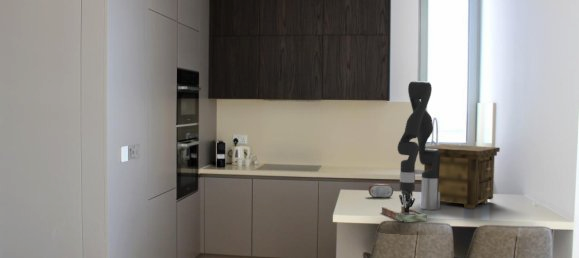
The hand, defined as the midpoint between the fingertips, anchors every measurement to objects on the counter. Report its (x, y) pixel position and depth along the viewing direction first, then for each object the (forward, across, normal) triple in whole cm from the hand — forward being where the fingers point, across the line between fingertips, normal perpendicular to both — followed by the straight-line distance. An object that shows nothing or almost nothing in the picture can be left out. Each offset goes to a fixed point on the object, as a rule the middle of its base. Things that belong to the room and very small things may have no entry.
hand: (406, 214), depth 290 cm
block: (+2, -4, 0) cm, 5 cm away
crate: (+2, +33, -52) cm, 62 cm away
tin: (+2, +60, -15) cm, 62 cm away
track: (+2, +3, 0) cm, 3 cm away
